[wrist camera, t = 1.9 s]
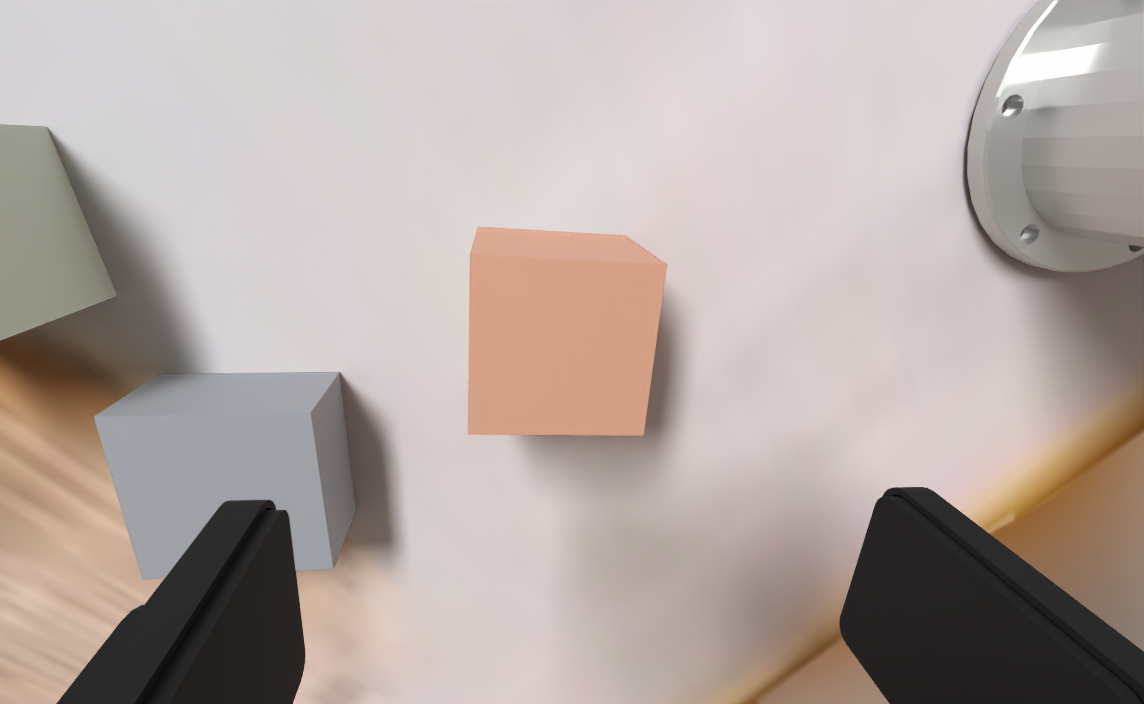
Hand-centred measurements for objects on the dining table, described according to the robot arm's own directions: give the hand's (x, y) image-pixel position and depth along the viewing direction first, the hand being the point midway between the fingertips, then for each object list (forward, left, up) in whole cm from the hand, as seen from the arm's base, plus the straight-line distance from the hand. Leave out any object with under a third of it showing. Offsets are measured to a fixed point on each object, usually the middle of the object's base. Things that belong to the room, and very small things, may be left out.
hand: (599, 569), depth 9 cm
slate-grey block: (+12, +7, -16) cm, 21 cm away
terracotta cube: (0, 0, -15) cm, 15 cm away
